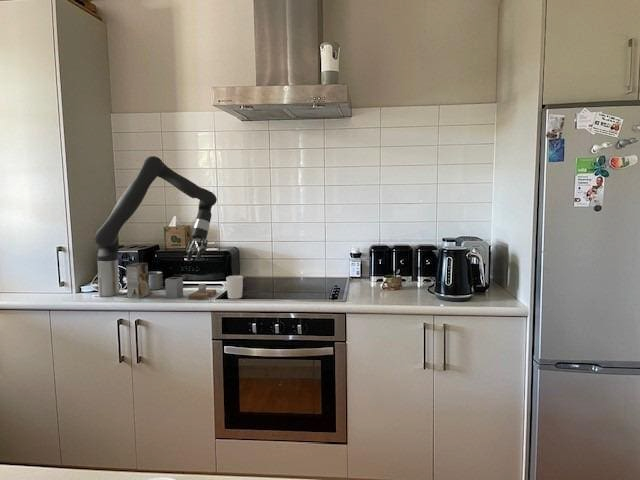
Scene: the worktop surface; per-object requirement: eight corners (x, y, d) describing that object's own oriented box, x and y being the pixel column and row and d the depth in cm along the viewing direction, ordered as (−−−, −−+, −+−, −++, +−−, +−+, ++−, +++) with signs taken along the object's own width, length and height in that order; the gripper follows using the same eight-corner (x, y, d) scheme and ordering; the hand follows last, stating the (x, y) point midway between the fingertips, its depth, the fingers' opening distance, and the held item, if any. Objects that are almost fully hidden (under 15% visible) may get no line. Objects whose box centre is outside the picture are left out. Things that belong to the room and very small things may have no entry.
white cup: (235, 294, 223) (234, 274, 222) (246, 296, 218) (246, 276, 217) (223, 297, 216) (222, 277, 215) (234, 300, 212) (234, 279, 211)
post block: (204, 299, 212) (203, 287, 211) (188, 299, 213) (187, 286, 213) (216, 293, 226) (215, 281, 225) (201, 293, 227) (200, 281, 226)
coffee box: (138, 294, 225) (137, 262, 224) (149, 294, 224) (148, 262, 222) (127, 298, 216) (125, 265, 215) (139, 298, 215) (137, 265, 213)
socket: (165, 297, 216) (165, 279, 215) (172, 295, 222) (171, 277, 221) (177, 298, 215) (176, 279, 214) (183, 295, 221) (182, 277, 220)
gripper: (187, 228, 232) (179, 258, 228) (202, 225, 223) (194, 256, 218) (199, 233, 238) (191, 263, 233) (214, 230, 228) (207, 261, 223)
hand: (193, 259), depth 225 cm, fingers open, 8 cm apart
